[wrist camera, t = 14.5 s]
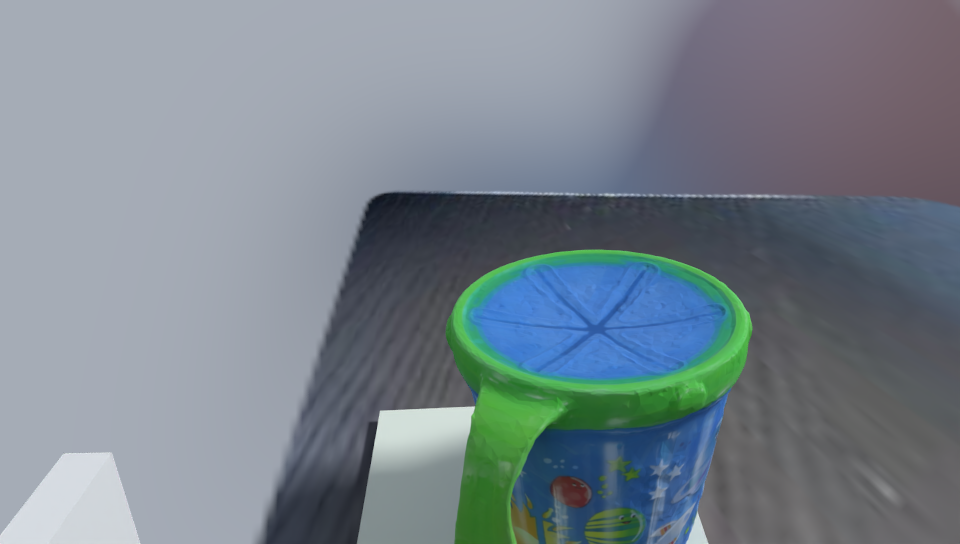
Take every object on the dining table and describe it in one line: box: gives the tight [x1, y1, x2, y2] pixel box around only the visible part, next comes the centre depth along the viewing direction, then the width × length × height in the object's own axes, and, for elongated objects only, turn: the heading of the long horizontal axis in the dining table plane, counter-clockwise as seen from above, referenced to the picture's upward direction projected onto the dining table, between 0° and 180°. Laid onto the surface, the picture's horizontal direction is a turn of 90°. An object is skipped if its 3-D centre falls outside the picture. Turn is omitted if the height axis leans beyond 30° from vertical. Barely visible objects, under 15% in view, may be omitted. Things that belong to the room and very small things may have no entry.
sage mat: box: [357, 407, 708, 544], centre depth 37 cm, size 16×14×1 cm
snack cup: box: [446, 250, 752, 544], centre depth 33 cm, size 16×10×10 cm
